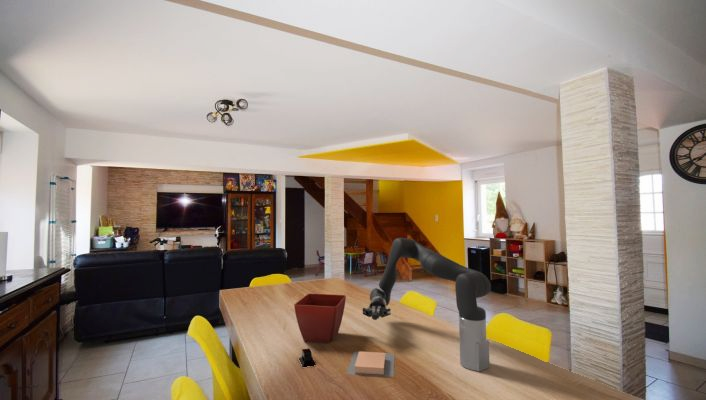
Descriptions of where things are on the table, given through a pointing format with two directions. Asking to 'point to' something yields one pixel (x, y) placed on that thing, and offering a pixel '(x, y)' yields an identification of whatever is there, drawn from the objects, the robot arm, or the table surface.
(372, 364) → the tile
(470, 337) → the robot arm
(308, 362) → the black blocky piece
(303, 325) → the plant pot
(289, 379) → the table surface
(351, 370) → the mat
